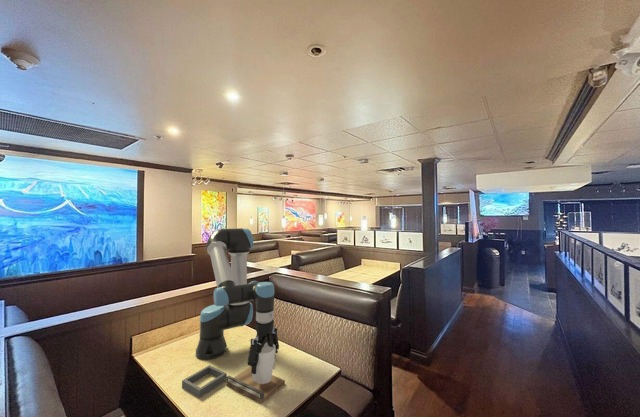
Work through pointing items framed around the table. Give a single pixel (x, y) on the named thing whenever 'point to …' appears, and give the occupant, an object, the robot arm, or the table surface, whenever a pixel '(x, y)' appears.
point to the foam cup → (266, 363)
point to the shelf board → (254, 386)
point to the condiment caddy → (200, 392)
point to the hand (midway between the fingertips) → (263, 374)
